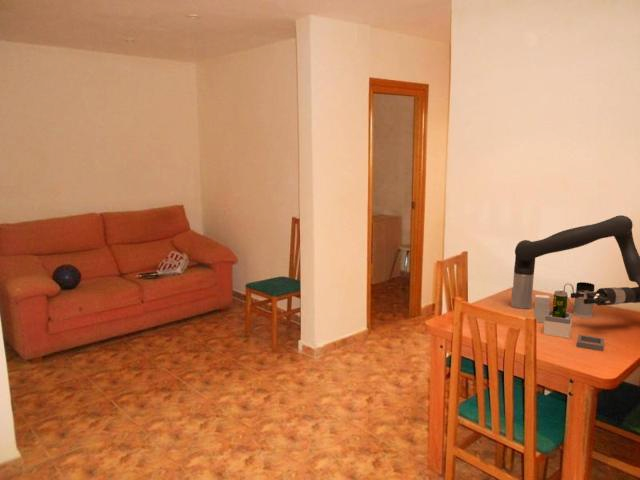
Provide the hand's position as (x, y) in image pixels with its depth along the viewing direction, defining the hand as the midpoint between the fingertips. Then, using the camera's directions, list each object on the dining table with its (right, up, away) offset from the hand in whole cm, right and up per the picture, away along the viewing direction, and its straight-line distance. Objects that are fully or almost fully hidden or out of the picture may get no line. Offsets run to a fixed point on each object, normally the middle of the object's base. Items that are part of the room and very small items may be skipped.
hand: (577, 298), depth 224 cm
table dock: (-1, -17, -13) cm, 22 cm away
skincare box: (-9, -12, +15) cm, 22 cm away
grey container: (+12, -10, +26) cm, 31 cm away
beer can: (-8, -9, 0) cm, 12 cm away
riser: (-8, -15, +1) cm, 17 cm away
